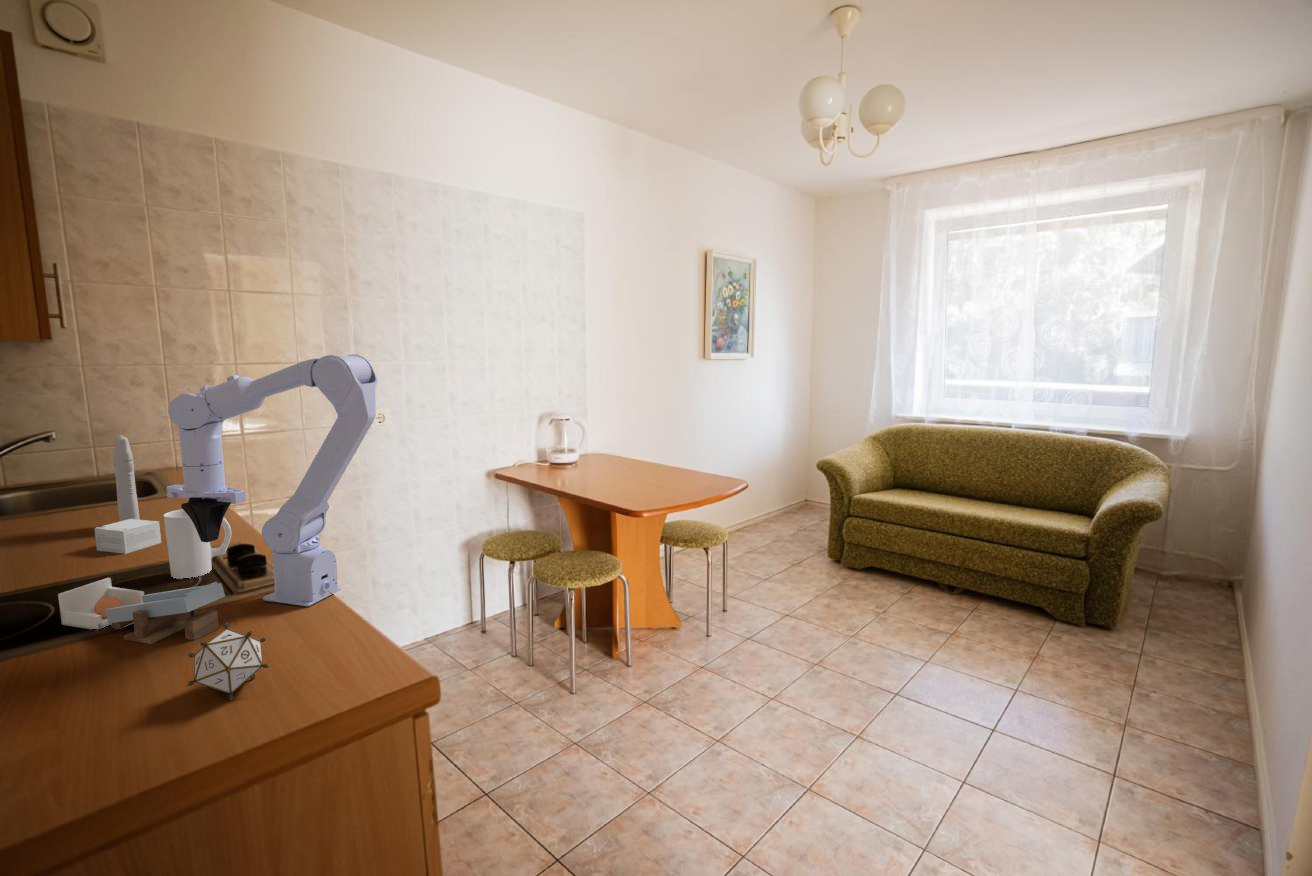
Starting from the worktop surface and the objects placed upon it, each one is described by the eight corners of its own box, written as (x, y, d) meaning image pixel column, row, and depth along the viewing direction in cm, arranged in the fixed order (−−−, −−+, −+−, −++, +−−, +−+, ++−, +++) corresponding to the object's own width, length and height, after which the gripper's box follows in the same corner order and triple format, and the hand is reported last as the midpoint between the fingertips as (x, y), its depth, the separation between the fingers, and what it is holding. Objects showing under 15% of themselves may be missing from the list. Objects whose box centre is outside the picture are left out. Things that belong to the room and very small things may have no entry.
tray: (146, 611, 99) (142, 582, 99) (98, 630, 93) (94, 599, 92) (111, 606, 101) (107, 577, 100) (61, 624, 94) (58, 594, 94)
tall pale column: (148, 530, 141) (138, 436, 138) (125, 534, 138) (114, 438, 135) (135, 521, 147) (125, 432, 144) (112, 525, 144) (102, 433, 141)
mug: (168, 582, 111) (162, 519, 110) (169, 571, 117) (163, 511, 115) (235, 571, 118) (230, 511, 116) (233, 561, 123) (228, 504, 121)
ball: (129, 610, 98) (122, 591, 97) (107, 618, 95) (100, 599, 94) (115, 614, 98) (108, 595, 98) (93, 622, 95) (85, 603, 95)
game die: (225, 711, 80) (221, 635, 83) (287, 688, 80) (280, 614, 84) (168, 715, 71) (166, 631, 75) (237, 689, 72) (231, 607, 75)
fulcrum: (233, 621, 97) (231, 595, 96) (176, 648, 88) (174, 619, 87) (159, 610, 100) (156, 584, 100) (96, 635, 91) (93, 607, 91)
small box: (162, 543, 133) (160, 520, 132) (124, 555, 125) (122, 531, 125) (134, 540, 135) (132, 517, 134) (95, 551, 127) (92, 527, 126)
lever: (247, 586, 98) (243, 571, 98) (187, 612, 89) (182, 595, 88) (173, 598, 102) (169, 583, 102) (108, 623, 93) (103, 607, 92)
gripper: (145, 464, 101) (153, 543, 103) (216, 470, 98) (222, 551, 100) (186, 457, 108) (193, 531, 110) (253, 463, 105) (259, 539, 107)
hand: (209, 540), depth 105 cm, fingers closed
